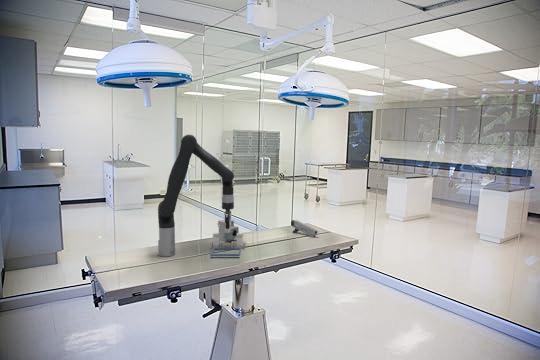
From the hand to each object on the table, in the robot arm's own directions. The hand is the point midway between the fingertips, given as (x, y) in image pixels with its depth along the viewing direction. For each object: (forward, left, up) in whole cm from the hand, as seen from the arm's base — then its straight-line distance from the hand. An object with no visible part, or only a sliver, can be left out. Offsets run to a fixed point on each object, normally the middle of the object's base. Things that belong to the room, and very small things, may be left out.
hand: (227, 227), depth 225 cm
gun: (+53, +39, -15) cm, 67 cm away
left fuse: (-7, 0, -13) cm, 15 cm away
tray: (0, -11, -14) cm, 18 cm away
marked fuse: (0, 0, -3) cm, 3 cm away
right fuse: (+8, 0, -13) cm, 15 cm away
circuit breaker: (-1, +17, -14) cm, 22 cm away
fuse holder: (0, 0, -14) cm, 14 cm away
